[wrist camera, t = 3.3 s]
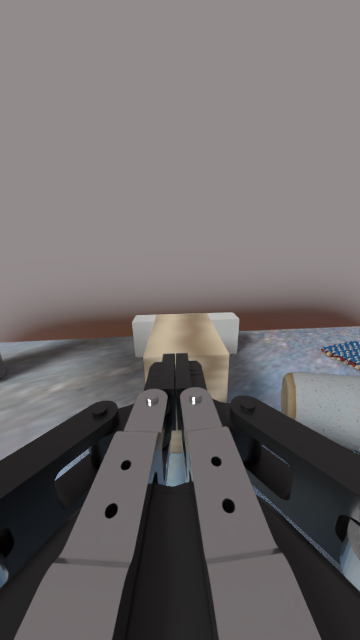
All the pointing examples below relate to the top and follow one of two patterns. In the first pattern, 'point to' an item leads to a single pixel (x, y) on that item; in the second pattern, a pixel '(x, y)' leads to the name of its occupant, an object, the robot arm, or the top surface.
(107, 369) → the top surface
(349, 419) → the ceramic mug
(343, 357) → the woven mat
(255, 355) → the top surface
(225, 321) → the white rectangular block
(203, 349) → the maple block
